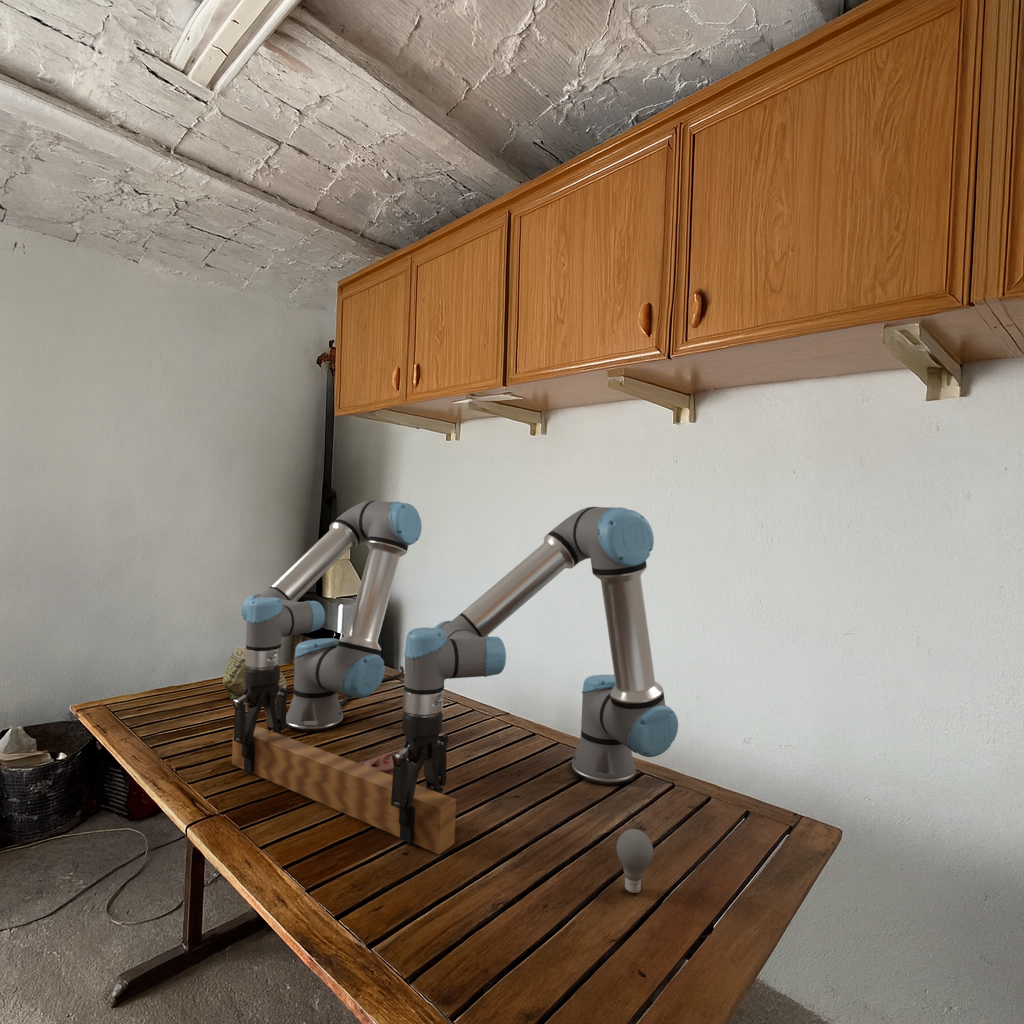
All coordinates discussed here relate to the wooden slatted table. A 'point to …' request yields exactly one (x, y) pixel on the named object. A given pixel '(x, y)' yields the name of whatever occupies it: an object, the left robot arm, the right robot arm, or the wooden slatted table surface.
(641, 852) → the light bulb
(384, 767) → the anatomical model
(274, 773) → the beam
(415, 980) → the wooden slatted table surface
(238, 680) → the fossil
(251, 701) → the left robot arm
